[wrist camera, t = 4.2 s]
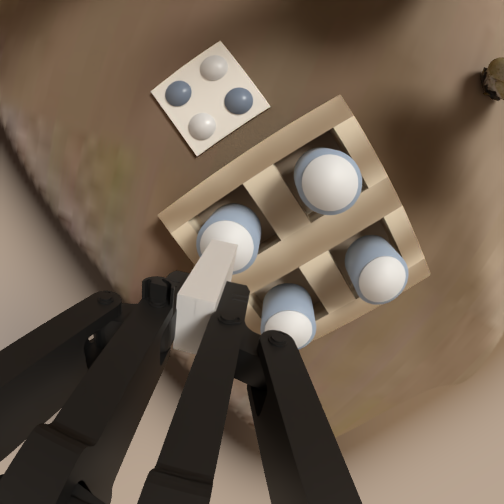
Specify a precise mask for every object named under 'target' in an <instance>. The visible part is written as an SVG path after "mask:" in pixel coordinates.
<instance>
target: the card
mask: <svg viewBox="0 0 504 504" xmlns="http://www.w3.org/2000/svg"><path fill="white" fill-rule="evenodd" d="M151 93H152V94H153V95H154V97H155V98H156V100H157V101H158V102H159V104H160V105H161V107H162V108H163V109H164V111H165V112H166V114H167V115H168V116H169V118H170V119H171V121H172V122H173V123H174V125H175V126H176V128H177V129H178V130H179V132H180V133H181V135H182V136H183V137H184V139H185V140H186V142H187V143H188V145H189V146H190V147H191V149H192V150H193V152H194V153H195V154H196V156H199V155H200V154H202V153H203V152H204V151H206V150H207V149H208V148H210V147H211V146H213V145H214V144H216V143H217V142H218V141H220V140H221V139H223V138H224V137H226V136H227V135H228V134H230V133H231V132H233V131H234V130H236V129H237V128H239V127H240V126H242V125H243V124H245V123H246V122H248V121H249V120H251V119H252V118H254V117H256V116H257V115H259V114H260V113H262V112H263V111H265V110H267V109H268V108H270V107H271V106H270V105H269V104H268V102H267V101H266V100H265V98H264V97H263V95H262V94H261V93H260V91H259V90H258V89H257V87H256V86H255V84H254V83H253V82H252V80H251V79H250V78H249V76H248V75H247V74H246V73H245V71H244V70H243V69H242V67H241V66H240V65H239V63H238V62H237V61H236V60H235V58H234V57H233V56H232V55H231V53H230V52H229V51H228V50H227V48H226V47H225V46H224V45H223V43H222V42H221V41H219V42H217V43H216V44H214V45H213V46H211V47H210V48H208V49H207V50H205V51H204V52H202V53H201V54H200V55H198V56H197V57H195V58H194V59H192V60H191V61H190V62H188V63H187V64H186V65H184V66H183V67H181V68H180V69H179V70H177V71H176V72H175V73H173V74H172V75H171V76H170V77H168V78H167V79H166V80H164V81H163V82H162V83H161V84H159V85H158V86H157V87H156V88H154V89H153V90H152V91H151Z"/></svg>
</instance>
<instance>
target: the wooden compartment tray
mask: <svg viewBox="0 0 504 504" xmlns="http://www.w3.org/2000/svg"><path fill="white" fill-rule="evenodd" d="M320 147H323V148H329V149H334V150H338V151H341V152H343V153H345V154H347V155H348V156H350V157H351V158H352V159H353V160H354V161H355V162H356V164H357V165H358V167H359V169H360V172H361V176H362V189H361V193H360V195H359V198H358V199H357V201H356V202H355V204H354V205H353V206H352V207H351V208H349V209H348V210H346V211H345V212H343V213H340V214H336V215H323V214H319V213H317V212H314V211H313V210H311V209H310V208H309V207H307V206H306V205H305V204H304V202H303V201H302V199H301V198H300V196H299V193H298V190H297V187H296V185H295V181H294V168H295V165H296V163H297V161H298V159H299V158H300V157H301V156H302V155H303V154H304V153H305V152H307V151H309V150H311V149H314V148H320ZM232 203H236V204H241V205H244V206H246V207H248V208H250V209H251V210H252V211H253V212H254V213H255V214H256V215H257V217H258V218H259V221H260V223H261V238H260V244H259V249H258V254H257V257H256V259H255V261H254V263H253V264H252V265H251V266H250V267H249V268H248V269H247V270H245V271H243V272H241V273H238V274H234V275H232V279H231V282H233V283H238V284H243V285H247V287H248V288H249V290H250V295H249V300H248V305H247V310H246V316H245V323H246V325H247V327H248V328H249V329H250V330H252V331H253V332H255V333H257V334H260V335H261V331H260V329H261V318H262V308H263V300H264V297H265V295H266V294H267V292H268V291H269V290H270V289H272V288H273V287H275V286H277V285H279V284H283V283H293V284H297V285H299V286H301V287H303V288H304V289H306V290H307V291H308V293H309V294H310V296H311V299H312V304H313V310H314V316H315V322H316V333H315V336H314V338H313V339H312V341H314V340H316V339H318V338H320V337H322V336H324V335H326V334H328V333H330V332H332V331H334V330H336V329H338V328H339V327H341V326H343V325H345V324H347V323H349V322H351V321H353V320H355V319H356V318H358V317H360V316H362V315H364V314H366V313H367V312H369V311H371V310H373V309H375V308H376V307H378V306H380V305H382V304H379V305H375V304H370V303H367V302H365V301H363V300H362V299H361V298H360V297H359V296H358V294H357V292H356V290H355V288H354V285H353V283H352V281H351V279H350V277H349V275H348V272H347V270H346V267H345V255H346V252H347V250H348V248H349V247H350V245H351V244H352V243H353V242H354V241H355V240H357V239H358V238H360V237H362V236H366V235H377V236H380V237H382V238H384V239H385V240H386V241H387V242H388V243H389V244H390V245H391V246H392V247H393V248H394V249H395V250H396V252H397V253H398V254H399V255H400V256H401V257H402V258H403V259H404V261H405V262H406V264H407V267H408V281H407V284H406V286H405V288H404V290H403V291H402V292H404V291H405V290H407V289H409V288H410V287H412V286H413V285H415V284H417V283H418V282H420V281H421V280H423V279H425V278H426V277H428V276H429V275H431V274H430V271H429V268H428V265H427V263H426V260H425V257H424V255H423V252H422V250H421V247H420V245H419V242H418V240H417V238H416V235H415V233H414V230H413V228H412V226H411V223H410V221H409V219H408V217H407V214H406V212H405V210H404V208H403V206H402V204H401V201H400V199H399V197H398V195H397V193H396V191H395V189H394V187H393V185H392V183H391V181H390V179H389V177H388V175H387V173H386V171H385V169H384V167H383V166H382V164H381V162H380V160H379V158H378V156H377V154H376V153H375V151H374V149H373V147H372V145H371V144H370V142H369V140H368V138H367V137H366V135H365V133H364V132H363V130H362V128H361V127H360V125H359V123H358V122H357V120H356V118H355V117H354V115H353V114H352V112H351V110H350V109H349V107H348V106H347V104H346V103H345V101H344V99H343V98H342V96H341V95H338V96H337V97H335V98H333V99H331V100H330V101H328V102H326V103H324V104H323V105H321V106H319V107H317V108H316V109H314V110H312V111H310V112H309V113H307V114H305V115H304V116H302V117H300V118H299V119H297V120H295V121H294V122H292V123H290V124H289V125H287V126H286V127H284V128H282V129H281V130H279V131H278V132H276V133H274V134H273V135H271V136H270V137H268V138H266V139H265V140H263V141H262V142H260V143H259V144H257V145H256V146H254V147H253V148H251V149H249V150H248V151H246V152H245V153H243V154H242V155H240V156H239V157H237V158H236V159H234V160H233V161H232V162H230V163H229V164H227V165H226V166H224V167H223V168H221V169H220V170H218V171H217V172H216V173H214V174H213V175H211V176H210V177H208V178H207V179H206V180H204V181H203V182H201V183H200V184H199V185H197V186H196V187H194V188H193V189H192V190H190V191H189V192H188V193H186V194H185V195H183V196H182V197H181V198H179V199H178V200H177V201H175V202H174V203H173V204H171V205H170V206H169V207H167V208H166V209H165V210H164V211H162V212H161V213H160V214H158V217H159V218H160V220H161V221H162V222H163V224H164V225H165V226H166V228H167V229H168V230H169V232H170V233H171V235H172V236H173V237H174V239H175V240H176V241H177V243H178V244H179V245H180V247H181V248H182V249H183V251H184V252H185V253H186V255H187V256H188V257H189V259H190V260H191V261H192V263H193V264H194V265H196V263H197V262H198V260H199V259H200V257H199V255H198V252H197V248H196V239H197V235H198V232H199V231H200V229H201V227H202V226H203V225H204V224H205V222H206V221H207V220H208V219H209V217H210V216H211V215H212V214H213V213H214V212H215V211H216V210H217V209H218V208H219V207H221V206H223V205H226V204H232ZM402 292H401V293H402ZM312 341H311V342H312Z"/></svg>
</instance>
